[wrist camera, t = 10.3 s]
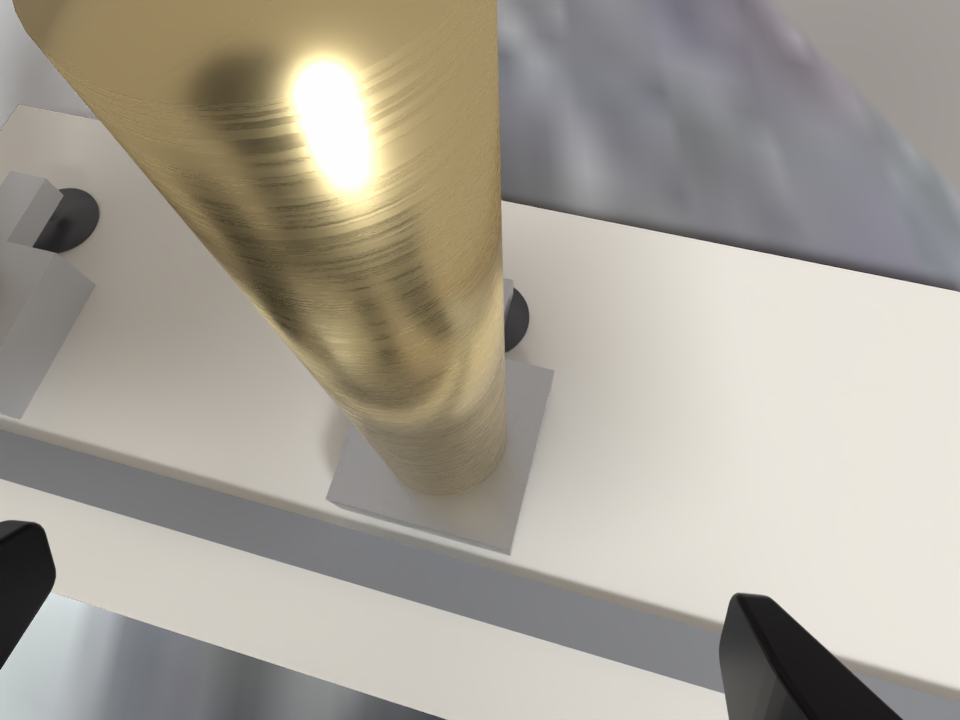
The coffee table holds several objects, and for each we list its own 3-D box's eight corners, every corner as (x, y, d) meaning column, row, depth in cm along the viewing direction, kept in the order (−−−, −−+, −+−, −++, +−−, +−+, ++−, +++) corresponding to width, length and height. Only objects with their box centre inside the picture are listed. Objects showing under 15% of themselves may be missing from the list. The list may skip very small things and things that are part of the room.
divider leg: (510, 556, 15) (509, 299, 3) (341, 508, 16) (-273, 125, 3) (568, 318, 18) (709, -402, 5) (419, 284, 18) (219, -432, 6)
